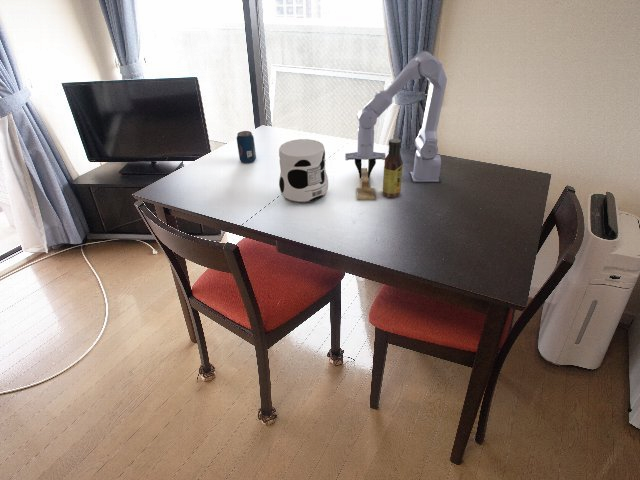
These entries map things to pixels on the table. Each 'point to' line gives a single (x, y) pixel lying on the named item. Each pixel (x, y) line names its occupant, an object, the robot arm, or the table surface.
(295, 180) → the milk container
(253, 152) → the soda can
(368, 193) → the tan upright bar
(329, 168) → the table surface
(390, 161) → the sauce bottle
